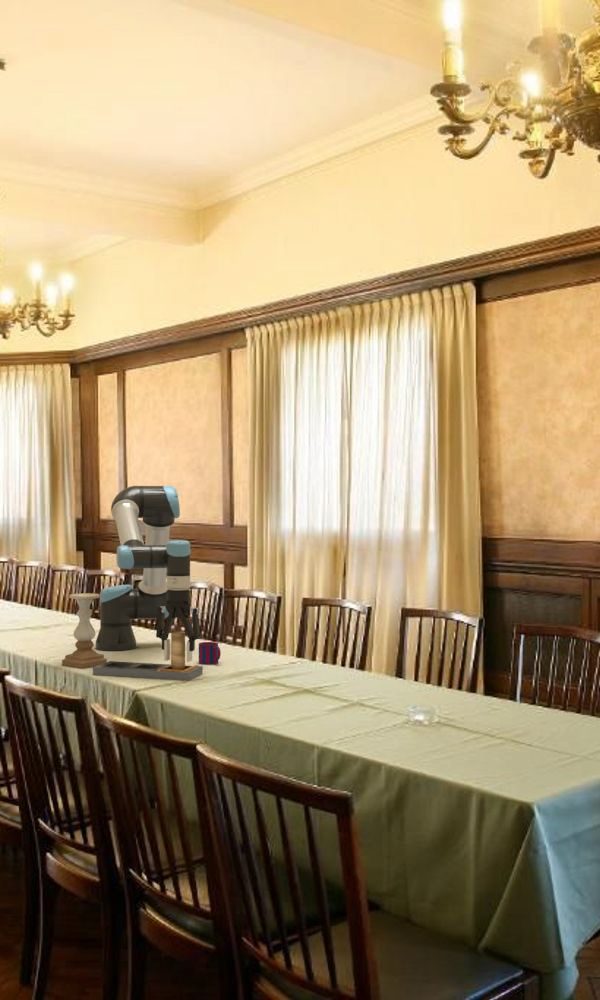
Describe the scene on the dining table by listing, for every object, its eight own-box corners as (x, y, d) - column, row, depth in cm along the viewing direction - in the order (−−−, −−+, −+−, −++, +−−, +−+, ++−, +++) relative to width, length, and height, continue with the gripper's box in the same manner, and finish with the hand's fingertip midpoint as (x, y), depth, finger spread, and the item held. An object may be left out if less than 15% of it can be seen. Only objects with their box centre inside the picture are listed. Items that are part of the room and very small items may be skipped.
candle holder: (82, 668, 335) (82, 597, 335) (61, 665, 342) (61, 594, 342) (107, 664, 344) (107, 594, 344) (86, 661, 351) (86, 592, 350)
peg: (174, 674, 325) (174, 631, 325) (187, 675, 324) (187, 632, 324) (168, 677, 321) (169, 633, 321) (181, 677, 320) (181, 633, 320)
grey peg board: (109, 668, 336) (109, 660, 336) (202, 674, 327) (202, 665, 327) (92, 674, 324) (92, 666, 324) (188, 680, 315) (188, 671, 315)
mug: (212, 660, 352) (212, 641, 352) (226, 664, 344) (226, 645, 344) (195, 662, 349) (195, 642, 349) (208, 666, 340) (208, 646, 340)
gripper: (144, 589, 322) (144, 660, 322) (203, 591, 316) (202, 664, 316) (154, 586, 329) (154, 657, 329) (211, 588, 323) (211, 660, 324)
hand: (178, 660), depth 323 cm, fingers open, 7 cm apart
